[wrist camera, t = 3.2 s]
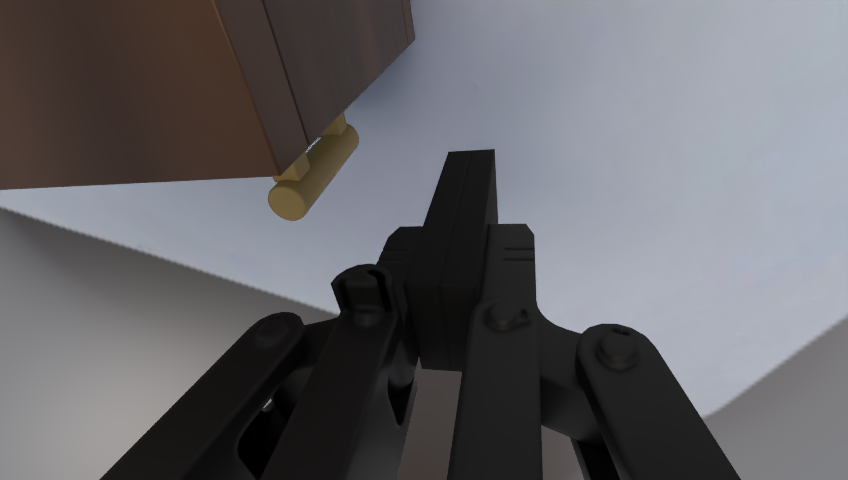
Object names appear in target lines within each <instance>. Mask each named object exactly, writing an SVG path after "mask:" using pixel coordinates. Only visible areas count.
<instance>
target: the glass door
mask: <svg viewBox="0 0 848 480" xmlns="http://www.w3.org/2000/svg"><path fill="white" fill-rule="evenodd" d="M319 137H321V138H320V140H319V141H318V142H317V143H316V144H315V145H314V146H313V147H312V148H311V149H310V150H309V151H308V152H307V153H305V152H304V153H303V154H302V155H301V156H300V157H299V158H298V159H297V160H296V161H295V162H294V163H293V164H292V165H291V166H290V167H289V168H288V169H287V170H286V171H285V172H284V173H283V174H282V175H281V176H273V179H274V181H275V182H278V183H277V184H276V185H275V186H274V187H273V188H272V189H271V190H270V192H269V194H268V202H269V205H270V207H271V209H272V210H273V211H274V212H275V213H276V214H277V215H278V216H280V217H281V218H283V219H286V220H290V221H294V220H299V219H301V218H302V217H304V215H305V214H306V213H307V211H308V210H309V209H310V208H311V206H312V205H313V204H314V202H315V201H316V200H317V198H318V197H319V196H320V194H321V193H322V192H323V191H324V189H325V188H326V187H327V185H328V184H329V183H330V181H331V180H332V179H333V177H334V176H335V175H336V174H337V172H338V171H339V170H340V168H341V167H342V166H343V164H344V163H345V162H346V160H347V159H348V158H349V156H350V155H351V154H352V153H353V151H354V150H355V149H356V147H357V146H358V143H359V137H358V134H357V132H356V130H355V129H354V128H353V127H352V126H351V125H349V124H347V123H346V120H345V116H344V112H343V113H342V114H341V115H340V116H339V117H338V118H337V119H336V120H335V121H334V122H333V123H332V124H331V125H330V126H329V127H328V128H327V129H326V130H325V131H324V132H323V133H322V134H321V135H320V136H319Z"/></svg>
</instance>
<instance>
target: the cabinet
mask: <svg viewBox="0 0 848 480" xmlns="http://www.w3.org/2000/svg"><path fill="white" fill-rule="evenodd" d="M414 40H415V36H414V29H413V22H412V15H411V8H410V1H409V0H0V190H7V189H28V188H48V187H68V186H89V185H109V184H129V183H149V182H170V181H190V180H210V179H230V178H251V177H271V176H281V175H282V174H283V173H284V172H285V171H286V170H287V169H288V168H289V167H290V166H291V165H292V164H293V163H294V162H295V161H296V160H297V159H298V158H299V157H300V156H301V155H302V154H303V153H304V152H305V151H306V150H307V149H308V146H310V145H311V144H312V143H313V142H314V141H315V140H316V139H317V138H318V137H319V136H320V135H321V134H322V133H323V132H324V131H325V130H326V129H327V128H328V127H329V126H330V125H331V124H332V123H333V122H334V121H335V120H336V119H337V118H338V117H339V116H340V115H341V114H342V113H343V112H344V111H345V110H346V109H347V108H348V107H349V106H350V105H351V104H352V103H353V102H354V101H355V100H356V98H357V97H358V96H359V95H360V94H361V93H362V92H363V91H364V90H365V89H366V88H367V87H368V86H369V85H370V84H371V83H372V82H373V81H374V80H375V79H376V78H377V77H378V76H379V75H380V74H381V73H382V72H383V71H384V70H385V69H386V68H387V67H388V66H389V65H390V64H391V63H392V62H393V61H394V60H395V59H396V58H397V57H398V56H399V55H400V54H401V53H402V52H403V51H404V50H405V49H406V48H407V47H408V46H409V45H410V44H411V43H412V42H413V41H414Z"/></svg>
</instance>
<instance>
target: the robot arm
mask: <svg viewBox="0 0 848 480" xmlns="http://www.w3.org/2000/svg"><path fill="white" fill-rule="evenodd" d="M331 286H332V289H333V291H334V294H335V297H336V300H337V303H338V305H339V308H340V311H341V312H340V314H339V316H338V317H337V318H334V319H331V320H327V321H322V322H318V323H313V324H308V325H304V324H303V322H302V320H301V318H300V316H298V315H296V314H294V313H290V312H280V313H275V314H271V315H269V316H267V317H265V318H263V319H260V320H259V321H258V322H256V323H255V324H254V325H253V326H252V327H250V328H249V329H248V330H247V331H246V332H245V333H244V334H243V335H242V336H241V337H240V338H239V339H238V340H237V341H236V343H235V344H233V345H232V346H231V347H230V349H228V351H226V352H225V353H224V355H222V356H221V357H220V359H219V360H218V361H217V362H216V363H215V364H214V365H213V366H212V367H211V368H210V369H209V370H208V371H207V372H206V373H205V374H204V375H203V376H202V377H201V378H200V379H199V380H198V381H197V382H196V383H195V384H194V385H193V386H192V387H191V388H190V389H189V390H188V391H187V392H186V393H185V394H184V395H183V396H182V397H181V398H180V399H179V400H178V401H177V402H176V403H175V404H174V405H173V406H172V407H171V408H170V409H169V410H168V411H167V412H166V413H165V414H164V415H163V416H162V417H161V418H160V419H159V420H158V421H157V422H156V423H155V424H154V425H153V426H152V427H151V428H150V429H149V430H148V431H147V432H146V433H145V434H144V435H143V436H142V437H141V438H140V439H139V440H138V441H137V442H136V443H135V444H134V445H133V446H132V447H131V448H130V449H129V450H128V451H127V452H126V454H124V455H123V456H122V457H121V458H120V460H118V462H116V463H115V465H114V466H113V467H112V468H111V469H110V470H109V471H108V472H107V473H106V474H105V475H104V476H103V477H102V478H101V479H100V480H396V479H397V474H398V470H399V466H400V462H401V457H402V453H403V449H404V444H405V440H406V436H407V431H408V427H409V423H410V418H411V414H412V410H413V406H414V401H415V397H416V393H417V378H416V373H415V369H416V365H417V361H418V357H420V362H421V366H422V369H433V370H446V371H461V372H462V378H461V385H460V393H459V399H458V406H457V413H456V420H455V427H454V434H453V441H452V447H451V454H450V461H449V468H448V475H447V480H543V472H542V441H541V425H543V426H545V427H547V428H550V429H552V430H554V431H557V432H559V433H562V434H564V435H566V436H569V437H570V439H571V442H572V445H573V448H574V451H575V454H576V456H577V459H578V462H579V465H580V468H581V470H582V474H583V477H584V480H741V479H740V478H739V476H738V474H737V473H736V471H735V470H734V468H733V467H732V465H731V463H730V462H729V460H728V459H727V457H726V456H725V454H724V453H723V451H722V450H721V448H720V446H719V445H718V443H717V442H716V440H715V439H714V437H713V436H712V434H711V433H710V431H709V429H708V428H707V426H706V425H705V423H704V422H703V420H702V418H701V417H700V415H699V414H698V412H697V411H696V409H695V408H694V406H693V404H692V403H691V401H690V400H689V398H688V397H687V395H686V394H685V392H684V391H683V389H682V387H681V386H680V384H679V383H678V381H677V380H676V378H675V377H674V375H673V373H672V372H671V370H670V369H669V367H668V366H667V364H666V363H665V361H664V359H663V358H662V356H661V355H660V353H659V352H658V350H657V349H656V347H655V346H654V345H653V344H652V343H651V342H650V341H649V339H648V338H647V337H646V336H644V335H643V334H641V333H639V332H638V331H636V330H634V329H632V328H629V327H626V326H622V325H619V324H599V325H596V326H593V327H589V328H588V329H587V330H586V331H584V332H583V333H582V334H580V333H577V332H573V331H570V330H567V329H564V328H562V327H559V326H556V325H555V324H553V323H552V322H550V321H549V320H547V319H546V318H545V317H544V316H543V315H542V314H541V312H540V310H539V309H538V306H537V301H536V277H535V246H534V234H533V233H532V231H531V230H530V229H529V227H528V226H527V225H526V224H498V209H497V189H496V169H495V149H490V150H472V151H454V152H448V155H447V158H446V161H445V164H444V167H443V170H442V173H441V175H440V178H439V181H438V184H437V187H436V190H435V193H434V196H433V199H432V201H431V204H430V207H429V210H428V213H427V216H426V219H425V222H424V225H423V226H414V227H399V228H398V229H397V230H396V231H395V232H394V233H392V234H391V235H390V236H389V237H388V239H387V241H386V244H385V246H384V248H383V251H382V253H381V255H380V257H379V261H378V262H377V264H376V265H375V264H363V265H357V266H354V267H351V268H349V269H346V270H345V271H343V272H342V273H340V274H339V275H337V276H336V278H335V279H334V280H333V281H332V282H331ZM270 398H271V400H272V401H271V403H269V404H268V405H267V406H266V407H265V408H263V407H264V406H265V405H266V403H267V402H268V401H269V400H270Z"/></svg>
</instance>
